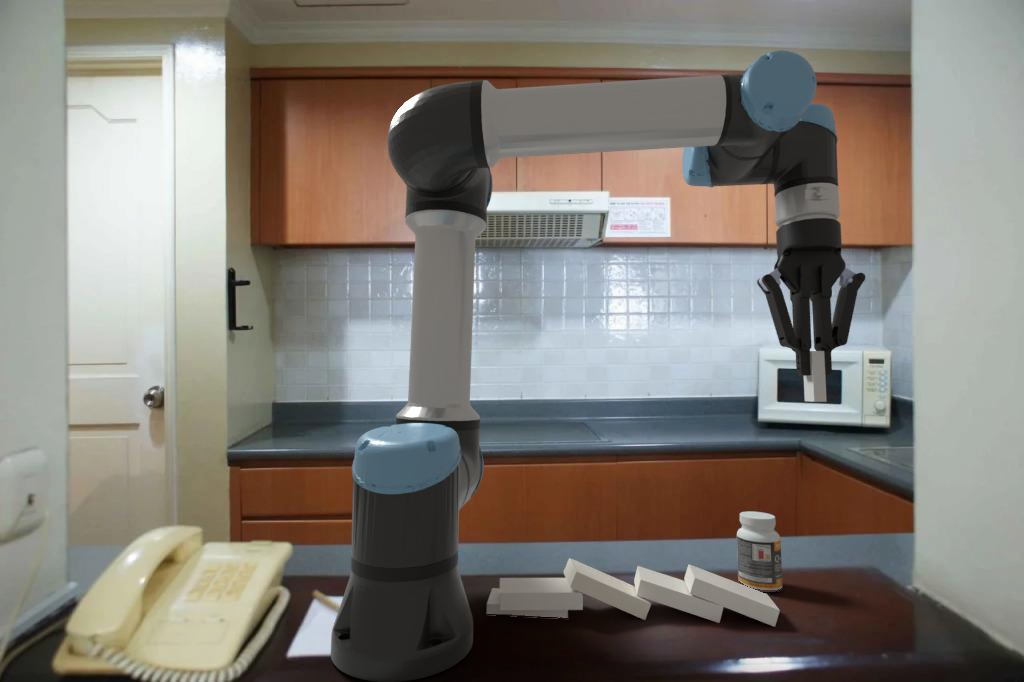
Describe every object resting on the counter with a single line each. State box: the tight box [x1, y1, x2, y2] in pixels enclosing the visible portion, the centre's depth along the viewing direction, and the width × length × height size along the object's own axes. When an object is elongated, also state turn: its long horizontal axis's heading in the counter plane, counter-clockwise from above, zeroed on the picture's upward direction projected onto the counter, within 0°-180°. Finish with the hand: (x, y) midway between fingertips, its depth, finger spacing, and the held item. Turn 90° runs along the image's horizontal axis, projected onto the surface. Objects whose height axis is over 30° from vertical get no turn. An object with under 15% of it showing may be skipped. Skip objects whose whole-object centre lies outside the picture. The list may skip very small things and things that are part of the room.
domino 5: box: [683, 563, 781, 627], centre depth 65 cm, size 2×5×10 cm
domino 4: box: [633, 565, 724, 624], centre depth 66 cm, size 2×5×10 cm
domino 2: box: [499, 577, 584, 611], centre depth 65 cm, size 2×5×10 cm
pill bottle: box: [736, 510, 783, 590], centre depth 74 cm, size 6×6×10 cm
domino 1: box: [486, 587, 569, 619], centre depth 66 cm, size 2×5×10 cm
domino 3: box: [563, 557, 652, 621], centre depth 65 cm, size 2×5×10 cm
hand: (815, 401), depth 67 cm, fingers closed
